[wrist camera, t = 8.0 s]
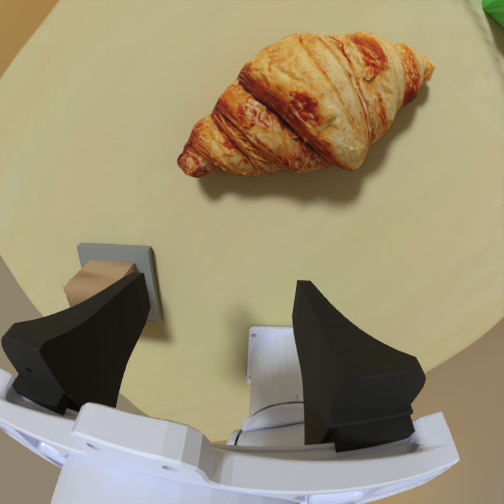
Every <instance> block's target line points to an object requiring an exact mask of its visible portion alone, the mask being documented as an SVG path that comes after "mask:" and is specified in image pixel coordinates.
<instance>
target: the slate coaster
mask: <svg viewBox="0 0 504 504" xmlns="http://www.w3.org/2000/svg"><path fill="white" fill-rule="evenodd" d="M77 250H78V254H79V259H80V263H81V267H82V268H83V267H84V266H85V265H86V264H87V263H88V262H89V261H90V260H102V261H119V262H134V263H135V268H136V272H140V273H144V275H145V280H146V286H147V291H148V296H149V301H150V305H151V308H150V311H149V315H148V318H147V320H148V321H156V322H160V321H161V318H162V314H161V309H160V303H159V297H158V292H157V285H156V279H155V272H154V265H153V258H152V250H151V246H134V245H114V244H94V243H80V244H79V245H78V246H77Z"/></svg>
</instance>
